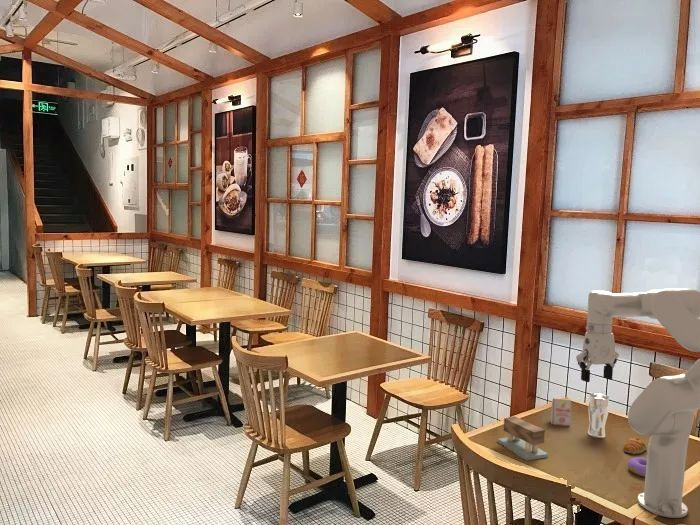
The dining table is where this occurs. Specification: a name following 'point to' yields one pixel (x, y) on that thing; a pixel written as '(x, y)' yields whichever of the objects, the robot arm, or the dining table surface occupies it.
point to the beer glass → (598, 414)
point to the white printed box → (561, 412)
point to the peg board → (522, 448)
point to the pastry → (634, 446)
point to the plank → (524, 430)
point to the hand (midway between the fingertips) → (596, 379)
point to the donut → (638, 466)
